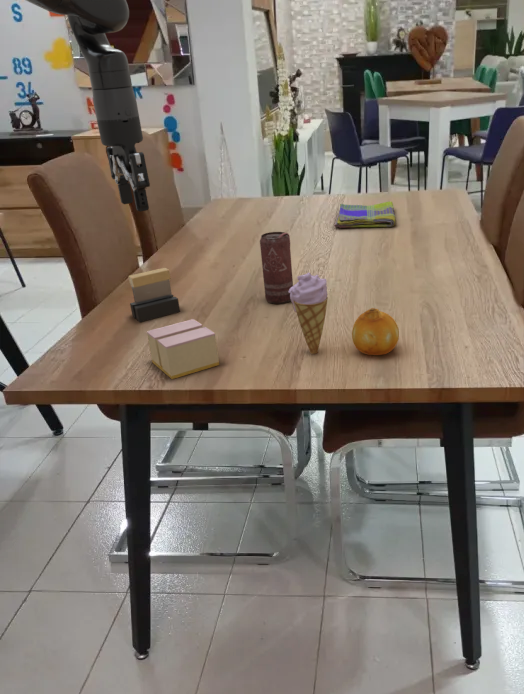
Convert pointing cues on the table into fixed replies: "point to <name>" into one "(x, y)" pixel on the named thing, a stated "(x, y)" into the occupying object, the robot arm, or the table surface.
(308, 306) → the ice cream cone
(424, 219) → the table surface
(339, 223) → the dish towel
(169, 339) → the slotted cream block
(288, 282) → the can
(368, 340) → the fruit
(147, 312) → the stand
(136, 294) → the scraper
